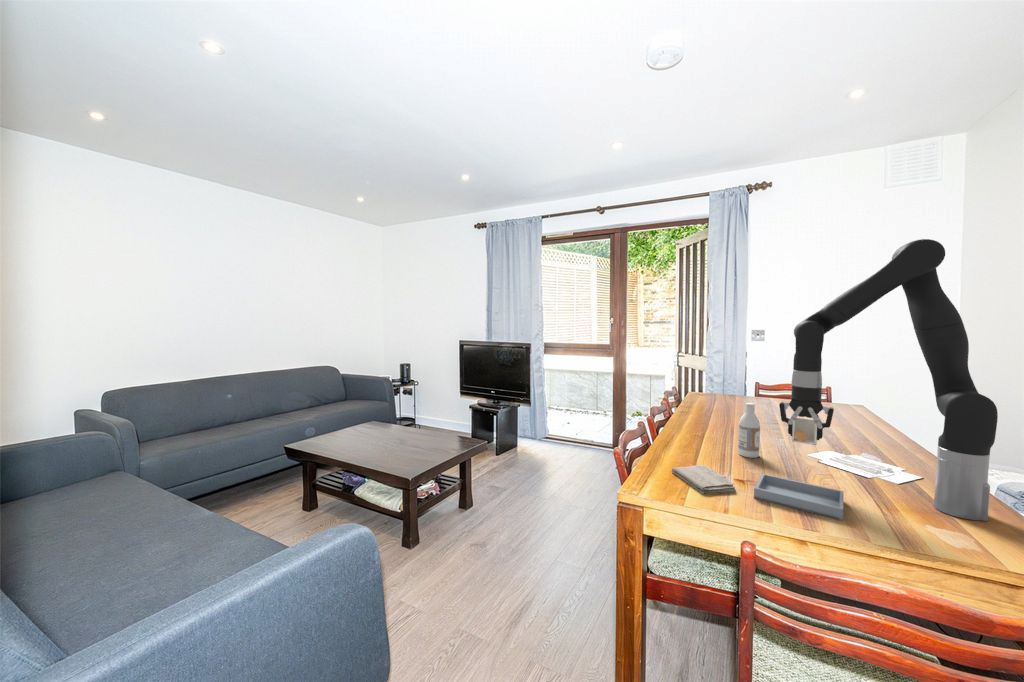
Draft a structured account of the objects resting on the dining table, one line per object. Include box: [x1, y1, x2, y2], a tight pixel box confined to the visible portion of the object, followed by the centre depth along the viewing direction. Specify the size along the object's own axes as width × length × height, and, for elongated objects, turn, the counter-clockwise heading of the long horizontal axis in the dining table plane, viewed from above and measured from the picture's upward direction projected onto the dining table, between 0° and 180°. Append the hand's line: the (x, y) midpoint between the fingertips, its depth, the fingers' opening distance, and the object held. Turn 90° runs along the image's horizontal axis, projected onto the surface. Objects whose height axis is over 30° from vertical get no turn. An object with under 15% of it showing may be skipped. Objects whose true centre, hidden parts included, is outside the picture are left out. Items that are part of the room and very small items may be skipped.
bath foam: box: [737, 402, 761, 459], centre depth 151 cm, size 7×7×20 cm
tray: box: [753, 473, 845, 522], centre depth 115 cm, size 20×14×3 cm
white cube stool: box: [791, 417, 818, 446], centre depth 124 cm, size 6×6×6 cm
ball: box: [794, 431, 807, 441], centre depth 123 cm, size 3×3×3 cm
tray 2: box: [806, 450, 924, 485], centre depth 140 cm, size 20×28×4 cm
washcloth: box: [671, 464, 737, 495], centre depth 128 cm, size 12×18×3 cm, turn 10°
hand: (804, 437), depth 124 cm, fingers closed on white cube stool, 6 cm apart
